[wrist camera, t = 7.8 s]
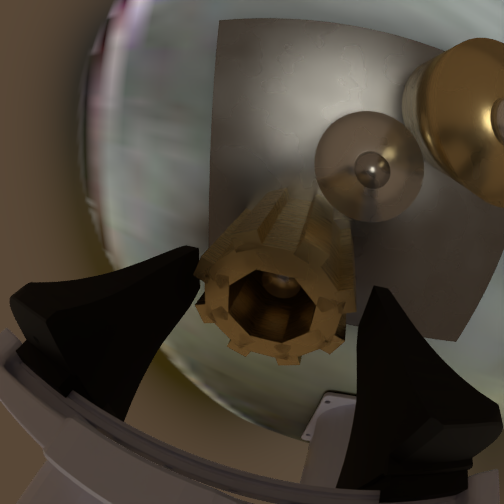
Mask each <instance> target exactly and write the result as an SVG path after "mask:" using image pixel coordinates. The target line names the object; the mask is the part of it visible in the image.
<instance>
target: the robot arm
mask: <svg viewBox="0 0 504 504" xmlns="http://www.w3.org/2000/svg"><path fill="white" fill-rule="evenodd" d="M198 263H199V248H196V247H191V246H187V245H186V246H182V247H179V248H176V249H173V250H171V251H168V252H165V253H163V254H160V255H158V256H155V257H153V258H150V259H148V260H145V261H143V262H140V263H137V264H134V265H132V266H129V267H126V268H123V269H120V270H117V271H114V272H110V273H107V274H103V275H98V276H94V277H88V278H83V279H78V280H70V281H61V282H42V283H41V282H39V283H33V282H31V283H28V284H26V285H25V286H23V287H22V288H21V289H20V290H18V291H17V292H16V293H15V294H13V295H12V296H11V297H10V307H11V310H12V312H13V315H14V317H15V319H16V321H17V323H18V325H19V327H20V329H21V330H22V332H23V334H24V336H25V338H26V341H25V342H24V343H23V344H22V343H21V341H20V340H19V339H18V338H17V337H16V336H15V335H14V334H13V333H12V332H11V331H10V330H9V329H7V328H5V330H3V331H2V332H1V333H0V401H1V402H2V404H3V405H4V406H5V407H6V409H7V410H8V411H9V412H10V413H11V415H12V416H13V417H14V418H15V419H16V420H17V422H18V423H19V424H20V425H21V426H22V427H23V428H24V429H25V430H26V432H27V433H28V434H29V435H30V436H31V437H32V438H33V439H34V440H35V441H36V442H37V443H38V444H39V445H40V446H41V447H42V448H43V453H44V456H45V458H46V459H47V460H46V462H45V463H44V464H43V466H42V467H41V469H40V470H39V471H38V473H37V474H36V476H35V477H34V478H33V480H32V481H31V483H30V484H29V486H28V487H27V489H26V490H25V491H24V493H23V494H22V496H21V497H20V499H19V500H18V502H17V503H16V504H253V503H249V502H246V501H242V500H240V499H236V498H234V497H232V496H229V495H227V494H225V493H223V492H221V491H219V490H217V489H214V488H212V487H215V488H219V489H221V490H225V491H228V492H231V493H235V494H238V495H242V496H245V497H249V498H253V499H257V500H262V501H266V502H271V503H276V504H499V476H498V469H494V470H490V471H486V472H482V473H477V474H474V475H472V476H469V477H468V471H467V470H468V469H470V468H472V466H473V462H472V458H473V457H474V456H475V455H477V454H478V453H480V452H481V451H482V450H484V449H485V448H486V447H488V446H489V445H490V444H491V443H493V442H494V441H495V440H496V439H497V438H498V436H499V435H500V434H501V432H502V429H503V423H502V418H501V414H500V409H499V405H498V404H497V403H495V402H494V401H492V400H491V399H489V398H488V397H486V396H485V395H483V394H482V393H480V392H479V391H477V390H476V389H475V388H474V387H472V386H471V385H470V384H469V383H467V382H466V381H465V380H464V379H463V378H461V377H460V376H459V375H458V374H457V373H456V372H455V371H454V370H453V369H452V368H451V367H450V366H448V365H447V364H446V363H445V362H444V361H443V360H442V359H441V357H440V356H439V355H438V354H437V353H436V352H435V351H434V350H433V348H432V347H431V346H430V345H429V344H428V343H427V341H426V340H425V339H424V338H423V336H422V335H421V334H420V332H419V331H418V330H417V329H416V327H415V326H414V324H413V323H412V322H411V320H410V319H409V317H408V316H407V315H406V313H405V312H404V310H403V309H402V307H401V306H400V304H399V303H398V301H397V300H396V299H395V297H394V296H393V294H392V293H391V291H390V290H389V289H388V288H385V287H380V286H375V285H374V286H373V288H372V291H371V294H370V297H369V299H368V302H367V305H366V307H365V310H364V312H363V315H362V318H361V320H360V322H359V327H358V336H357V396H351V395H344V394H338V393H332V392H327V393H325V394H324V396H323V397H322V399H321V401H320V403H319V405H318V407H317V409H316V411H315V413H314V414H313V416H312V418H311V420H310V422H309V423H308V425H307V427H306V429H305V430H304V432H303V434H302V436H301V438H302V439H303V440H308V441H310V444H309V448H308V453H307V458H306V461H305V465H304V469H303V473H302V477H301V481H300V484H299V483H293V482H288V481H283V480H278V479H273V478H268V477H264V476H259V475H256V474H252V473H248V472H245V471H241V470H238V469H234V468H231V467H228V466H225V465H221V464H218V463H215V462H213V461H210V460H207V459H204V458H201V457H198V456H196V455H193V454H191V453H188V452H186V451H183V450H181V449H178V448H176V447H174V446H171V445H169V444H167V443H165V442H162V441H160V440H158V439H156V438H154V437H152V436H150V435H148V434H145V433H144V432H142V431H139V430H138V429H136V428H134V427H132V426H130V425H128V424H126V423H125V422H124V420H125V417H126V415H127V412H128V410H129V407H130V405H131V402H132V400H133V398H134V395H135V393H136V391H137V389H138V387H139V384H140V382H141V380H142V378H143V376H144V374H145V373H146V371H147V369H148V367H149V365H150V363H151V361H152V359H153V358H154V356H155V354H156V353H157V351H158V349H159V348H160V346H161V345H162V343H163V342H164V340H165V339H166V338H167V336H168V335H169V334H170V332H171V331H172V330H173V328H174V327H175V326H176V324H177V323H178V322H179V321H180V319H181V318H182V317H183V315H184V314H185V312H186V311H187V310H188V308H189V307H190V306H191V304H192V302H193V300H194V298H195V297H196V295H197V293H198V291H199V289H200V279H199V278H197V277H196V276H194V275H193V274H194V272H195V269H196V267H197V265H198ZM109 438H110V439H109ZM114 441H115V442H114ZM119 444H120V445H119ZM121 445H122V446H121ZM126 448H127V449H126ZM128 449H129V450H128ZM137 454H138V455H137ZM139 455H140V456H139ZM141 456H142V457H141ZM143 457H144V458H143ZM145 458H146V459H145ZM147 459H148V460H147ZM149 460H150V461H149ZM151 461H152V462H151ZM153 462H154V463H153ZM155 463H156V464H155ZM157 464H158V465H157ZM166 468H167V469H166ZM168 469H169V470H168ZM175 472H176V473H175ZM177 473H178V474H177ZM182 475H183V476H182ZM187 477H188V478H187ZM192 479H193V480H192ZM194 480H196V481H194ZM197 481H198V482H197ZM199 482H201V483H199ZM202 483H204V484H206V485H204V484H202ZM207 485H209V486H212V487H209V486H207Z"/></svg>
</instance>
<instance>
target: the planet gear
mask: <svg viewBox="0 0 504 504" xmlns="http://www.w3.org/2000/svg"><path fill="white" fill-rule="evenodd" d="M333 208H334V207H333V206H332V205H331V204H330V203H329V202H328V201H327V199H326V198H324V197H322V196H321V195H319V194H318V193H317V194H316V195H315V197H314V198H313V200H312V202H311V201H305V200H300V199H294V198H290V197H289V194H288V190H287V188H283V189H279V190H274V191H270V192H268V193H267V194H266V195H265V196H264V197H263V198H262V199H261V201H260V202H259V203H258V204H257V205H256V206H255V207H254V208H253V209H252V211H251V210H249V209H247V208H246V209H245V210H244V211H243V212H242V213H241V215H240V216H239V217H238V218H237V219H236V220H235V221H234V222H233V223H232V224H231V225H230V226H229V227H228V228H227V229H226V230H225V231H224V233H223V234H222V235H221V236H220V237H219V238H218V239H217V240H216V241H215V242H214V243H213V244H212V245H211V246H210V248H209V249H208V250H207V251H206V252H205V253H204V254H203V255H202V256H201V258H200V260H199V263H198V265H197V267H196V269H195V272H194V274H193V275H194V276H196V277H197V278H199V279H200V280H202V281H204V282H205V292H204V293H203V295H202V296H201V297H200V299H199V300H198V301H197V303H196V304H195V306H196V308H197V310H198V312H199V314H200V316H201V318H202V320H203V322H204V323H215V324H216V325H217V326H218V327H219V328H220V329H221V330H222V331H223V332H224V333H225V334H226V335H227V336H228V337H229V338H230V341H229V343H228V345H227V347H229V348H231V349H232V350H234V351H236V352H238V353H240V354H241V355H243V356H245V357H246V356H247V355H248V354H249V353H250V352H251V351H252V352H256V353H259V354H263V355H267V356H271V357H275V358H276V360H277V363H278V365H300V362H301V357H302V355H304V354H307V353H309V352H312V351H315V350H318V349H321V350H323V351H325V352H327V353H328V354H331V353H332V352H333V351H334V350H335V349H337V348H338V347H339V346H340V345H341V344H342V343H343V342H345V332H346V313H352V312H357V308H356V278H355V260H354V246H353V240H352V234H351V229H350V228H346V229H340V228H339V227H338V226H337V224H336V223H335V221H334V220H333ZM264 272H270V273H274V274H279V275H284V276H288V277H293V278H295V279H296V280H297V282H298V283H299V284H300V285H301V288H300V290H299V292H298V293H297V294H296V295H294V296H293V297H290V298H278V297H275V296H273V295H271V294H270V293H269V292H268V291H267V290H266V289H265V287H264V285H263V282H262V277H263V274H264Z"/></svg>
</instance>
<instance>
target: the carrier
mask: <svg viewBox="0 0 504 504" xmlns="http://www.w3.org/2000/svg"><path fill="white" fill-rule="evenodd" d="M283 188H287V190H288V194H289V197H290V198H294V199H300V200H305V201H311V202H312V200H313V198H314V197H315V195H316V194H317V193H318V194H319V195H321V196H322V197H324V198H326V199H327V201H328V202H329V203H330V204H331V205H332V206H333V207H334V208H333V220H334V221H335V223H336V224H337V226H338V227H339V228H340V229H346V228H350V229H351V234H352V240H353V246H354V260H355V278H356V308H357V312H352V313H346V324H349V325H354V326H359V322H360V320H361V318H362V315H363V312H364V310H365V307H366V305H367V302H368V299H369V297H370V294H371V291H372V288H373V286H374V285H375V286H380V287H385V288H388V289H389V290H390V291H391V293H392V294H393V296H394V297H395V299H396V300H397V301H398V303H399V304H400V306H401V307H402V309H403V310H404V312H405V313H406V315H407V316H408V317H409V319H410V320H411V322H412V323H413V324H414V326H415V327H416V329H417V330H418V331H419V332H420V334H421V335H422V336H423V337H425V338H432V339H439V340H446V341H454V342H456V341H457V339H458V338H459V336H460V335H461V333H462V331H463V330H464V328H465V327H466V325H467V323H468V322H469V320H470V318H471V316H472V315H473V313H474V311H475V309H476V307H477V306H478V304H479V302H480V300H481V298H482V296H483V294H484V292H485V290H486V288H487V286H488V284H489V282H490V280H491V278H492V275H493V273H494V271H495V269H496V267H497V264H498V262H499V260H500V257H501V255H502V252H503V250H504V43H502V42H499V41H496V40H493V39H488V38H474V39H469V40H467V41H464V42H462V43H460V44H458V45H456V46H454V47H452V48H451V49H449V50H447V51H443V50H440V49H437V48H435V47H432V46H429V45H426V44H423V43H420V42H417V41H414V40H411V39H407V38H404V37H400V36H397V35H393V34H389V33H385V32H381V31H376V30H372V29H367V28H362V27H357V26H351V25H345V24H338V23H331V22H323V21H313V20H300V19H276V18H256V19H233V20H220V21H219V28H218V39H217V50H216V63H215V76H214V91H213V108H212V127H211V152H210V188H209V248H210V246H211V245H212V244H213V243H214V242H215V241H216V240H217V239H218V238H219V237H220V236H221V235H222V234H223V233H224V231H225V230H226V229H227V228H228V227H229V226H230V225H231V224H232V223H233V222H234V221H235V220H236V219H237V218H238V217H239V216H240V215H241V213H242V212H243V211H244V210H245V209H246V208H247V209H249V210H251V211H252V209H253V208H254V207H255V206H256V205H257V204H258V203H259V202H260V201H261V199H262V198H263V197H264V196H265V195H266V194H267V193H268V192H270V191H274V190H279V189H283ZM262 282H263V285H264V287H265V289H266V290H267V291H268V292H269V293H270V294H271V295H273V296H275V297H278V298H290V297H293V296H294V295H296V294H297V293H298V292H299V290H300V288H301V285H300V284H299V283H298V282H297V280H296V279H295V278H293V277H288V276H284V275H279V274H274V273H270V272H264V274H263V277H262Z"/></svg>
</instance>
